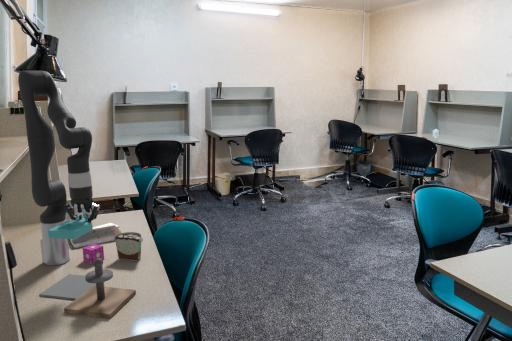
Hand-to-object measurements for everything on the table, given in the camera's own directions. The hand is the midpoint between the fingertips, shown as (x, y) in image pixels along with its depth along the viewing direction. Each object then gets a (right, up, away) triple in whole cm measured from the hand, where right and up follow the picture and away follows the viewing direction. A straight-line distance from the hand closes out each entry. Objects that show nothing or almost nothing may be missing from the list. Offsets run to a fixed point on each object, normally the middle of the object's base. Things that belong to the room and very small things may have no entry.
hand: (84, 230), depth 155 cm
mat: (-3, -19, -3) cm, 20 cm away
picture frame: (-13, -10, +45) cm, 48 cm away
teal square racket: (-1, +1, -5) cm, 5 cm away
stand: (+11, -22, -15) cm, 28 cm away
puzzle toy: (-4, -15, +20) cm, 25 cm away
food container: (+11, -14, +23) cm, 29 cm away
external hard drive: (-14, -8, +58) cm, 61 cm away
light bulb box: (-30, -6, +64) cm, 71 cm away
